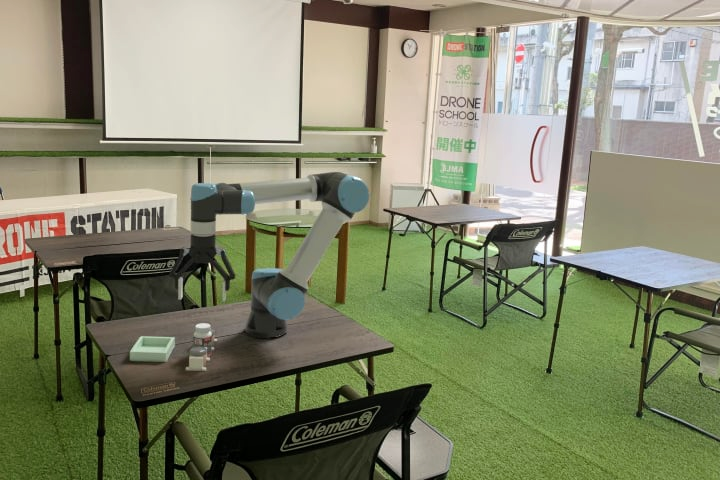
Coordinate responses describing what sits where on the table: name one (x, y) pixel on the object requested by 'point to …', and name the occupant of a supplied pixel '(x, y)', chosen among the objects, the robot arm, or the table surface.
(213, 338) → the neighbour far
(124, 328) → the table surface
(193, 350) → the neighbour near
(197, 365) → the cream flat pieces
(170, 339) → the tray
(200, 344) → the pill bottle
